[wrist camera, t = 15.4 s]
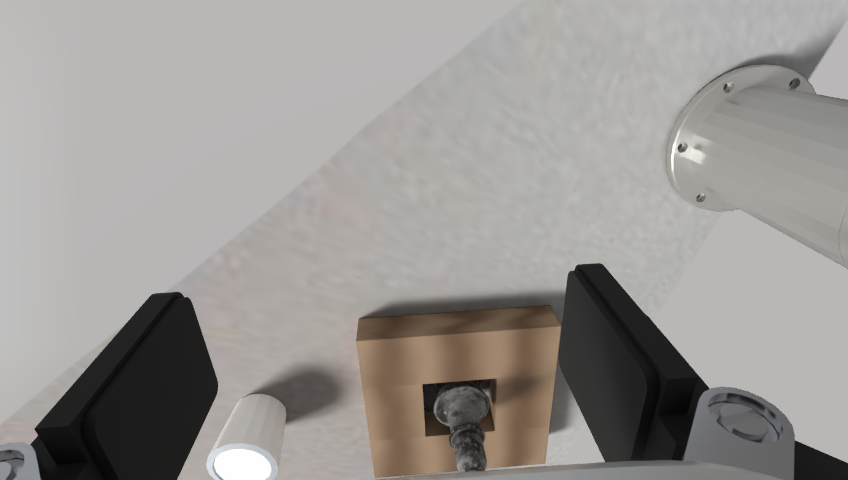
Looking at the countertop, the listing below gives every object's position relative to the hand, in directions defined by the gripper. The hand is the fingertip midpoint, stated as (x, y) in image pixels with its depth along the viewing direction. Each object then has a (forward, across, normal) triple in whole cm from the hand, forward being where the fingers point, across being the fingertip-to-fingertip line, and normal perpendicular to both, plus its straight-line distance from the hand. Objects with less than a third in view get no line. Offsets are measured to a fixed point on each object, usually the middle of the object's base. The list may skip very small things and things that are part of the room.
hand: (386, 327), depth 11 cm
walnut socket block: (+28, -5, +30) cm, 42 cm away
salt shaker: (+28, -5, +30) cm, 42 cm away
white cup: (+28, +17, +32) cm, 46 cm away
